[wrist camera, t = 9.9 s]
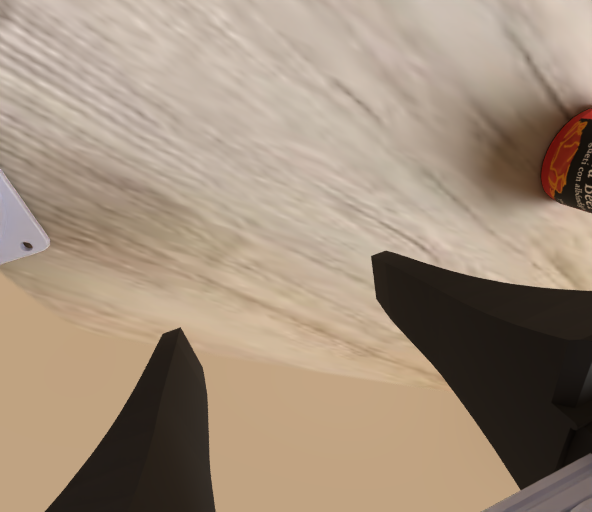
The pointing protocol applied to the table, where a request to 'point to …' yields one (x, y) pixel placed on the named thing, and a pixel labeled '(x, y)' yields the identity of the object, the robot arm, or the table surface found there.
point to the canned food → (571, 164)
